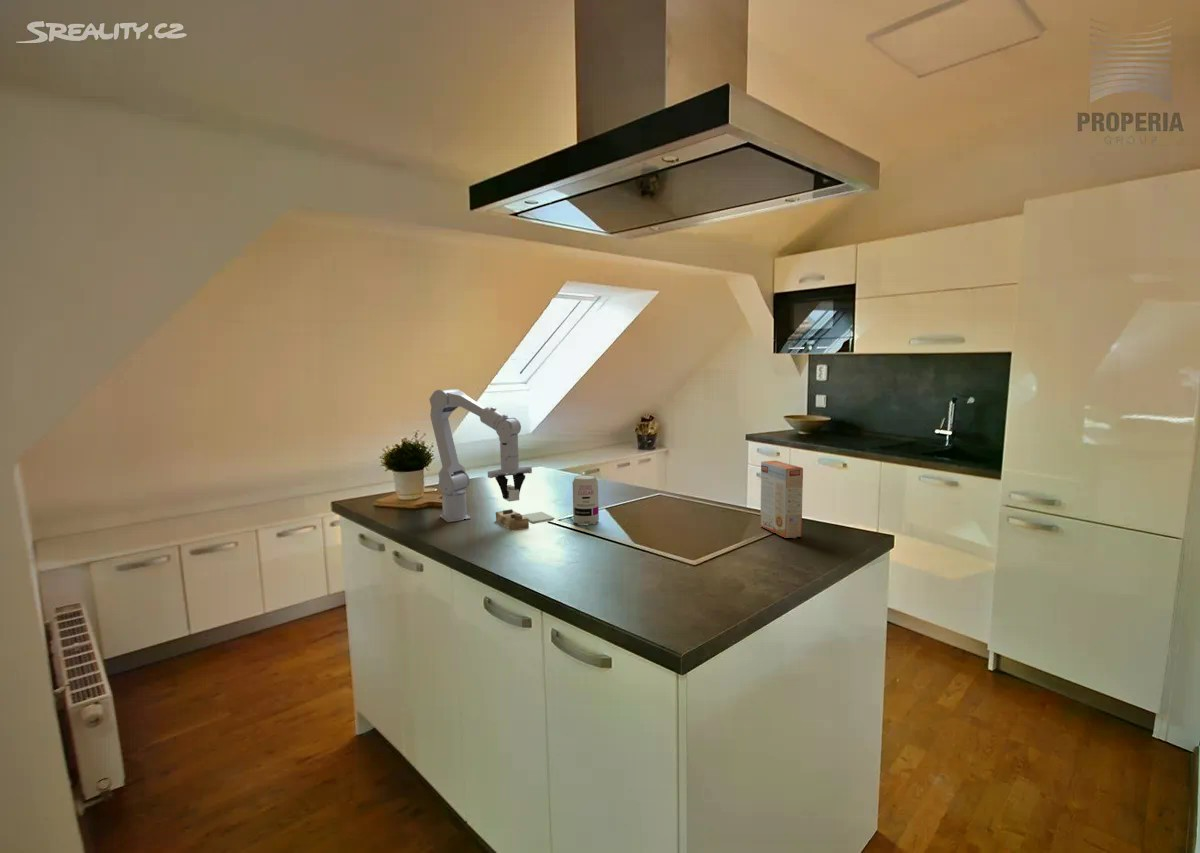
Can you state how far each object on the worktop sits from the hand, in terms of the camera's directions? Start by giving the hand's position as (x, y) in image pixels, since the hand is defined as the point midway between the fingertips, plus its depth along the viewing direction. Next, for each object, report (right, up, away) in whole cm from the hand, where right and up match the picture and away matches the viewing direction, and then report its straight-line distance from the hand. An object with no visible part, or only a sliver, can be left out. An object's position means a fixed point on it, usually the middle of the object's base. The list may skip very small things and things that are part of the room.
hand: (510, 497), depth 187 cm
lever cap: (0, -1, 0) cm, 1 cm away
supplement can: (+24, -9, +2) cm, 26 cm away
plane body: (0, -9, +1) cm, 9 cm away
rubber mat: (+8, -8, +8) cm, 14 cm away
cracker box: (+83, -9, -14) cm, 85 cm away
